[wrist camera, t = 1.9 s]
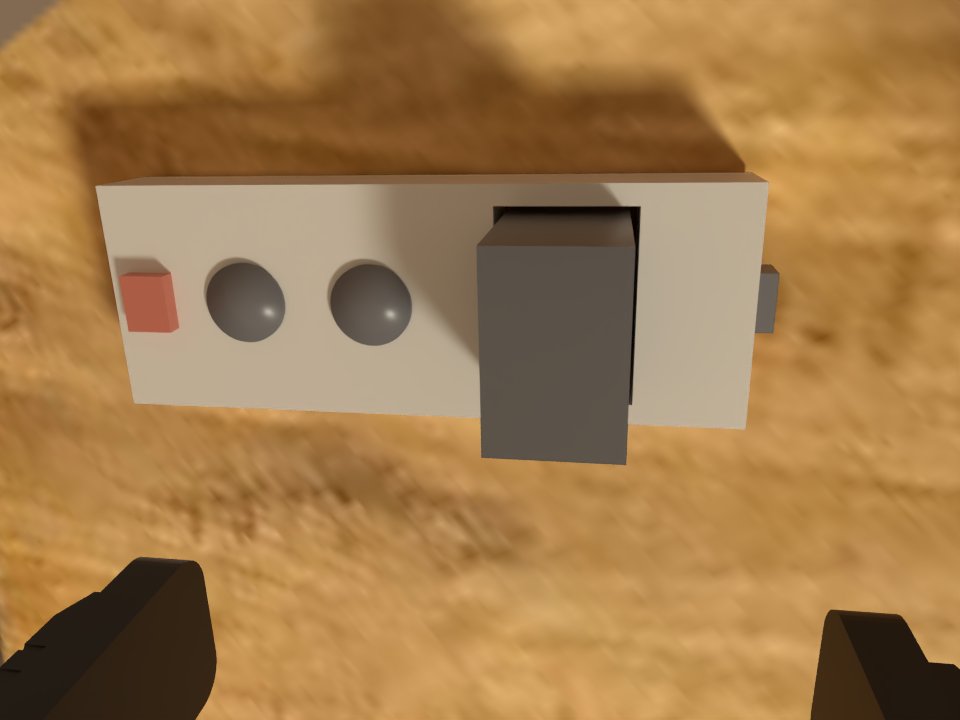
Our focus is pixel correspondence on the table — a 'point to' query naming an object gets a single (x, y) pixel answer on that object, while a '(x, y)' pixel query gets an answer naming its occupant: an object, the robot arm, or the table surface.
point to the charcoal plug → (556, 333)
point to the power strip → (416, 288)
